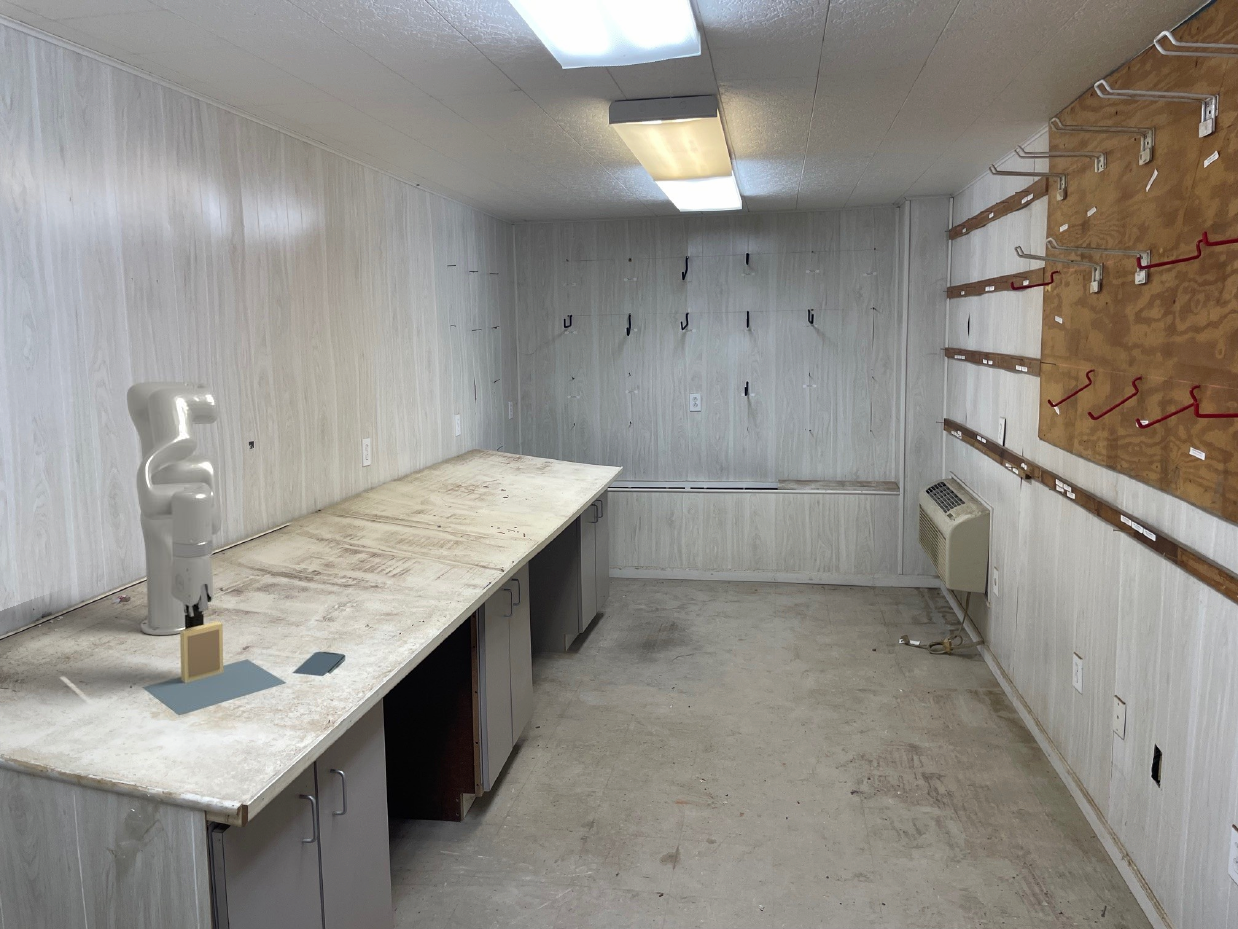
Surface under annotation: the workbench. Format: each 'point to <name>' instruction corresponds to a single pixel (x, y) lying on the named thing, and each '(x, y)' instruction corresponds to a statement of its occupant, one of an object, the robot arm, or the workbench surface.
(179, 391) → the robot arm
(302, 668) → the smartphone
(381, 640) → the workbench surface
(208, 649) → the beige rectangular block
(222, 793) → the workbench surface
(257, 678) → the rubber mat
